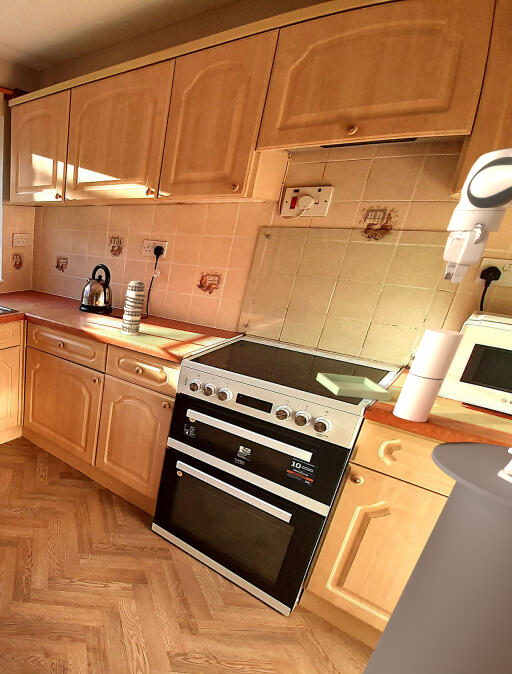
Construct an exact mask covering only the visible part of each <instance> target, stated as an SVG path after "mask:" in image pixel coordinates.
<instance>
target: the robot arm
mask: <svg viewBox="0 0 512 674" xmlns="http://www.w3.org/2000/svg"><path fill="white" fill-rule="evenodd" d="M459 199H460V200H459V202H458V204H457V205H456V206H455V208H454V209H453V211H452V215H451V217H450V219H449V223H448V225H447V227H446V231H447V232H449V233H448V237H447V240H446V244H445V248H444V252H443V257H442V258H443V259H442V260H443V261H445V262H447V263H446V266H445V272H444V275H443V277H442V278H443V280H445V281H450V283H452V284H460V283H462V281H463V278H464V276H465V275H466V274H467V272H468V271H469V269H470V266H476V265H478V264H479V263H480V261H481V259H482V256H483V254H484V251H485V249H486V246H487V243H488V240H489V237H490V233H497V232H498V231H499V230H500V227H501V225H502V222H503V220H504V218H505V215H506V213H507V210H508V209H512V147H505V148H499V149H493V150H491V151H488V152H485V153H484V154H482V155H481V156H479V157H478V159H477V160H476V161H474V163H473V165H472V166H471V168H470V169H469V172H468V173H467V176H466V179H465V180H464V183H463V186H462V188H461V191H460V198H459ZM509 452H510V453H512V448H510V450H509ZM497 475H498V476H499V477H501V478H503V479H505V480H507V481H509V482H510V483H512V460H511V462H510V463H509V464H508V465H507V466H506V467H504V469H503V470H500V471H499V473H498V474H497Z"/></svg>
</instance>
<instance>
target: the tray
mask: <svg viewBox="0 0 512 674" xmlns="http://www.w3.org/2000/svg"><path fill="white" fill-rule="evenodd" d="M315 381H317V382H319V383H320V384H321V385H322V386H324V387H325V388H326V389H328V390H329V391H330V392H331V393H333V394H334V395H335V396H339V397H348V398H356V399H366V400H376V401H383V402H391V400H392V397H393V395H394V393H393V392H391V391H390V390H388V389H386V388H385V387H383V386H381V385H379V384H378V383H377V382H376V381H375V382H374V381H373V380H372V379H370V378H368V377H366V376H356V375H345V374H337V373H336V374H335V373H325V372H317V376H316V378H315Z"/></svg>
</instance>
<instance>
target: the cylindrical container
mask: <svg viewBox="0 0 512 674" xmlns="http://www.w3.org/2000/svg"><path fill="white" fill-rule="evenodd" d="M463 337H464V333H463V332H460V331H456V330H450V329H445V328H444V329H443V328H432V327H429V328H425V331H424V333H423V336H422V338H421V340H420V344H419V346H418V348H417V351H416V354H415V356H414V359H413V362H412V364H411V366H410V368H409V372H408V374H407V377H406V379H405V381H404V384H403V387H402V389H401V392H400V394H399V397H398V399H397V402H396V405H395V406H394V410H393V412H392V414H393V415H394V416H395V417H397V418H400V419H403V420H407V421H411V422H416V423H426V421H427V420H428V419H429V416H430V413H431V411H432V409H433V407H434V404H435V401H436V400H437V398H438V396H439V394H440V393H439V392H440V390H441V388H442V385H443V383H444V381H445V378H446V377H447V375H448V372H449V369H450V367H451V365H452V362H453V360H454V358H455V355H456V354H457V353H456V352H457V351H458V348H459V346H460V344H461V341H462V340H463V339H462V338H463Z"/></svg>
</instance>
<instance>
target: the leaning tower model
mask: <svg viewBox="0 0 512 674" xmlns="http://www.w3.org/2000/svg"><path fill="white" fill-rule="evenodd" d="M145 286H146V284H145V283H144V281H142V280H136V279H135V280H134V279H133V280H130V281H129V283H127V290H126V293H125V294H124V300H125V301H124V305H123V308H124V313H123V317H122V321H121V323H122V324H121V327H120V329H121V330H120V333H121V334H123V335H127V336H128V335H129V336H136V335H139V334H140V333H139V332H140V328H141V326H140V325H141V320H142V319H141V315H142V311H143V308H144V307H143V305H144V302H145V299H144V298H146V295H145V288H146V287H145Z"/></svg>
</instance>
